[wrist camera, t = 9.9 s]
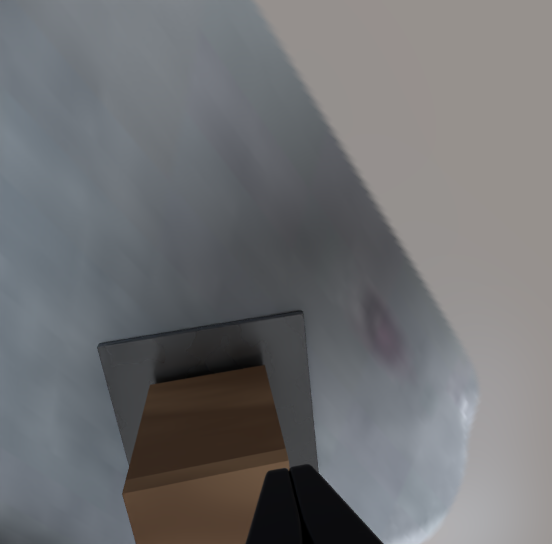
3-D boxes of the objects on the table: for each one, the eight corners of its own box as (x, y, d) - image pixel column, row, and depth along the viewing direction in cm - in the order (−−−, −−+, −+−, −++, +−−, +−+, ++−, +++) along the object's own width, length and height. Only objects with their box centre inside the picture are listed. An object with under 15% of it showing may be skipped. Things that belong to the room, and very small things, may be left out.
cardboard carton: (276, 456, 22) (302, 578, 16) (171, 477, 22) (155, 612, 15) (264, 364, 20) (288, 460, 14) (149, 384, 20) (122, 493, 14)
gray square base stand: (316, 468, 24) (357, 589, 17) (142, 504, 23) (114, 649, 16) (301, 310, 21) (343, 385, 14) (99, 343, 20) (44, 441, 13)
